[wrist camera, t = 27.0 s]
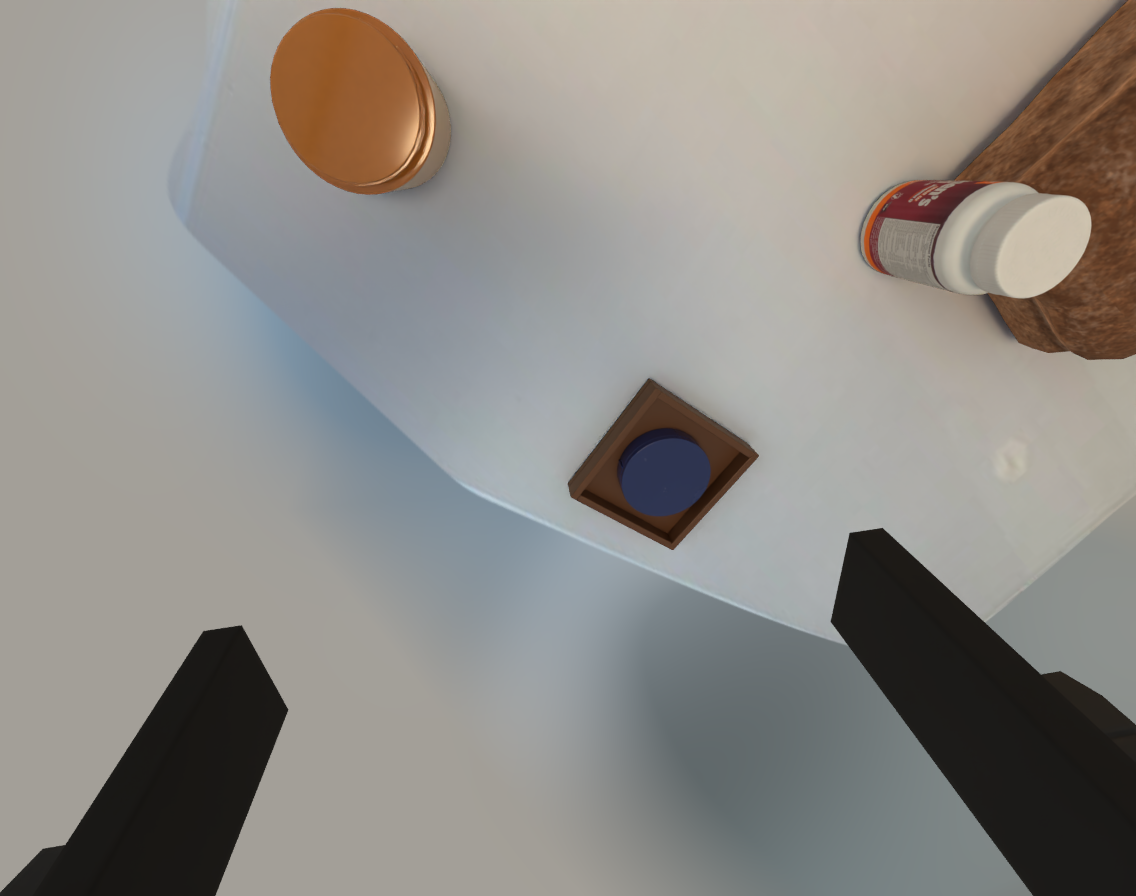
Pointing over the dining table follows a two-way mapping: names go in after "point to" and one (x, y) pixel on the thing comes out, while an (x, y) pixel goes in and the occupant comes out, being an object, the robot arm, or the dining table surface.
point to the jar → (358, 103)
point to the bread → (1080, 193)
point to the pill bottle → (976, 236)
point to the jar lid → (663, 472)
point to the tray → (643, 415)
